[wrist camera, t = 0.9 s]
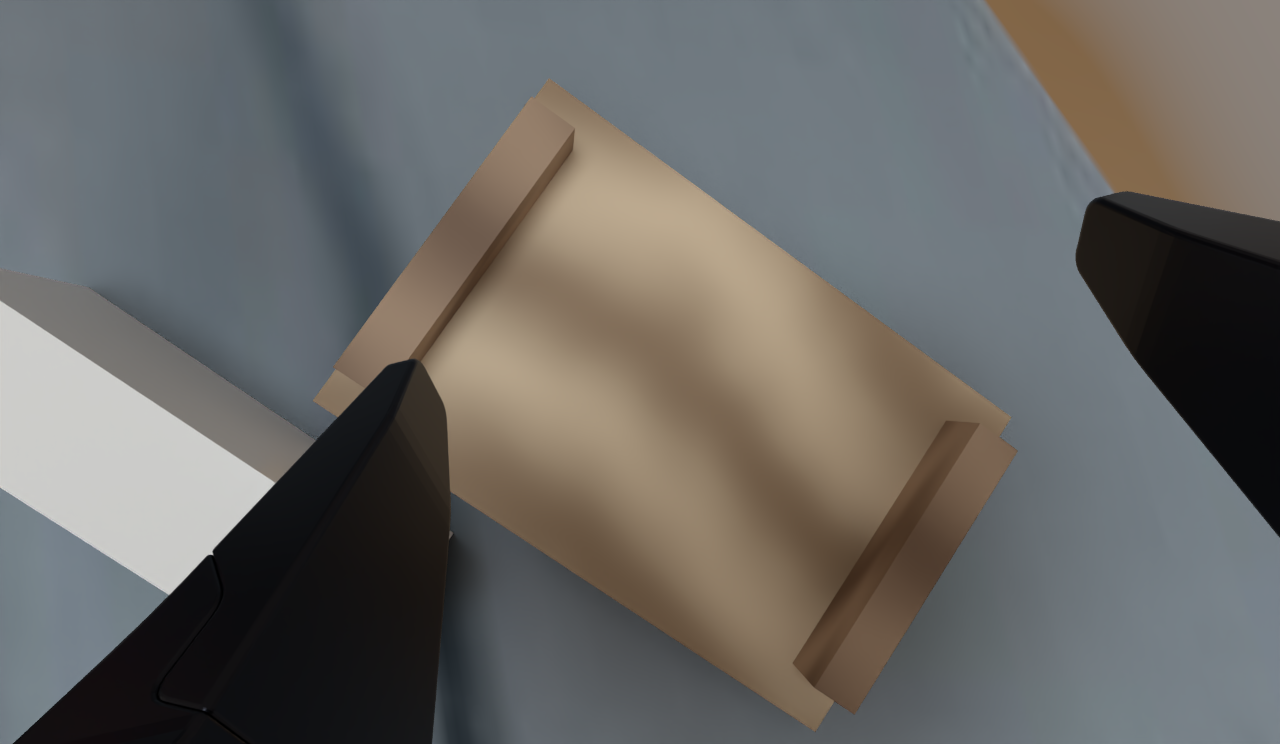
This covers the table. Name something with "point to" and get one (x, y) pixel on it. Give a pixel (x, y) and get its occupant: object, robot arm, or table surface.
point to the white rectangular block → (127, 431)
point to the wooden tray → (684, 410)
